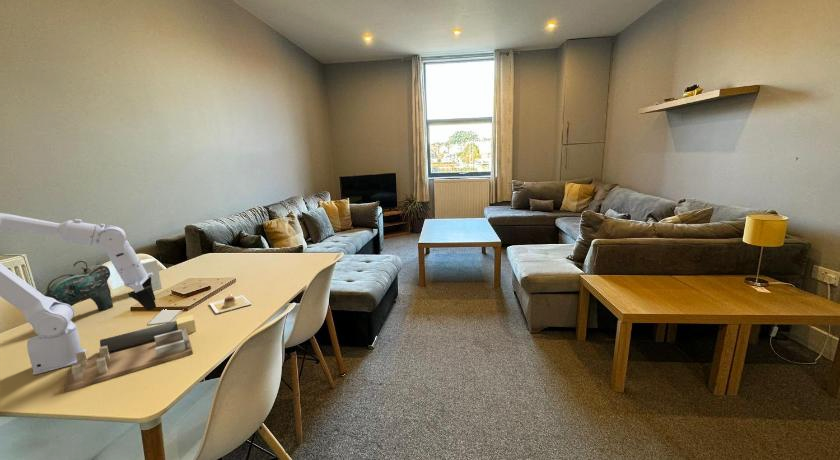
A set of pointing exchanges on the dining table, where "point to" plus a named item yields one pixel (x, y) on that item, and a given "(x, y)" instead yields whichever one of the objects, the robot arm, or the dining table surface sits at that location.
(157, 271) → the supplement box
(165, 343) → the board
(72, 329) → the robot arm
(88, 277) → the dark green irregular piece
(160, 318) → the smartphone
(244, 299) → the dessert
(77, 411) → the dining table surface
